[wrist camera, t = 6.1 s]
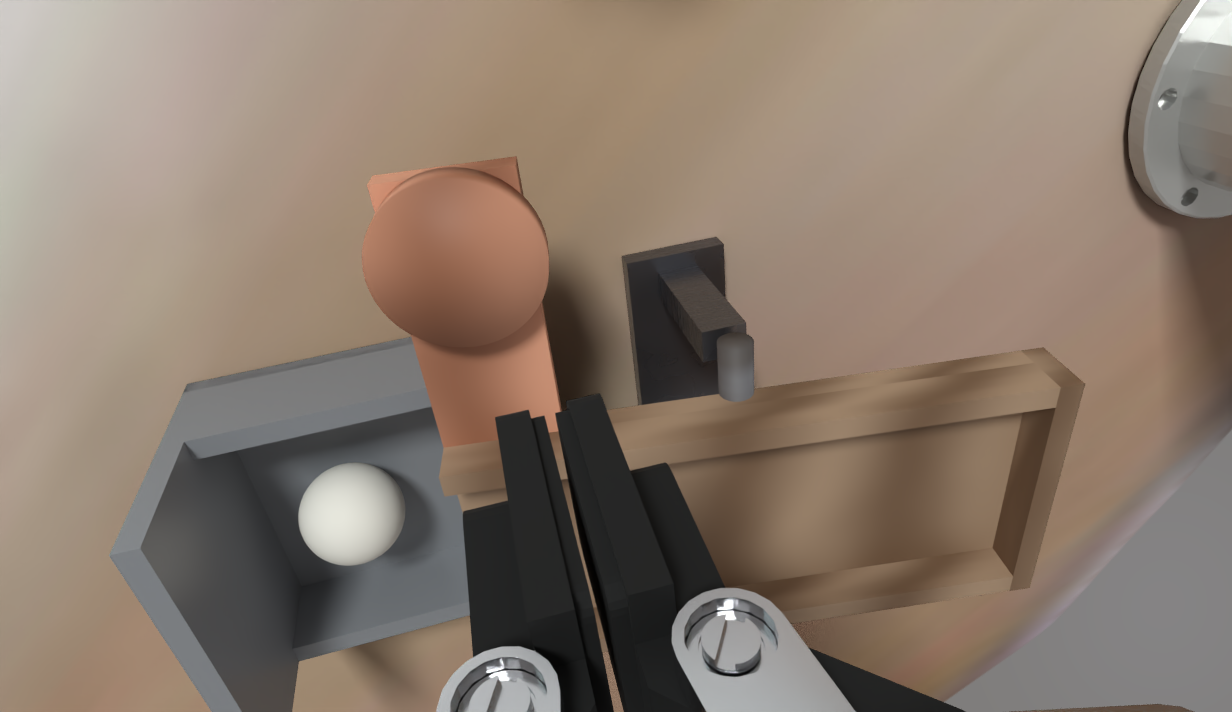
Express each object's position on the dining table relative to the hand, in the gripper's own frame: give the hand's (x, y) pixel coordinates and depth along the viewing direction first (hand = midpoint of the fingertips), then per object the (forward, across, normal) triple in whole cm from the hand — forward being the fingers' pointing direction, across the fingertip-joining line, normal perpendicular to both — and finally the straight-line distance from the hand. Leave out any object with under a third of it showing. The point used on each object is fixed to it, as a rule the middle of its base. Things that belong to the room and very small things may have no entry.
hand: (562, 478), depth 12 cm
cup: (+18, +7, +12) cm, 22 cm away
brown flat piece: (+11, -7, +8) cm, 16 cm away
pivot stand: (+18, -7, +12) cm, 22 cm away
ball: (+15, +8, +12) cm, 21 cm away
